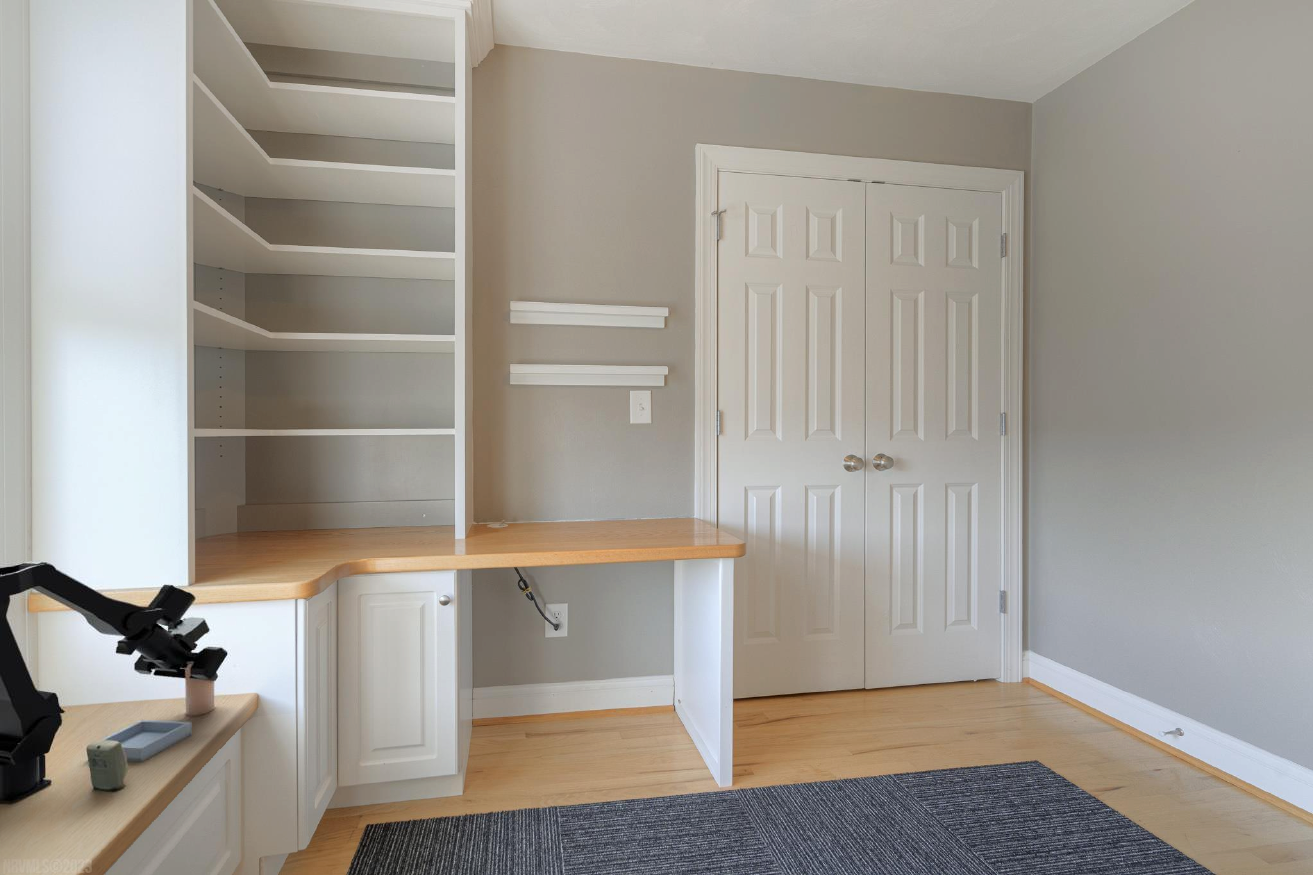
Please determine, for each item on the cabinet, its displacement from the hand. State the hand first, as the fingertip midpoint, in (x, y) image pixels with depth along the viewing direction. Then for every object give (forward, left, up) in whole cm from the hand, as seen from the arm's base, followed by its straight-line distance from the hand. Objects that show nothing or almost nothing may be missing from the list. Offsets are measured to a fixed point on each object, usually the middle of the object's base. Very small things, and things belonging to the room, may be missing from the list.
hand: (205, 677), depth 143 cm
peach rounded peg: (-1, 0, -7) cm, 7 cm away
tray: (-18, -2, -7) cm, 19 cm away
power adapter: (-32, -10, -7) cm, 34 cm away
